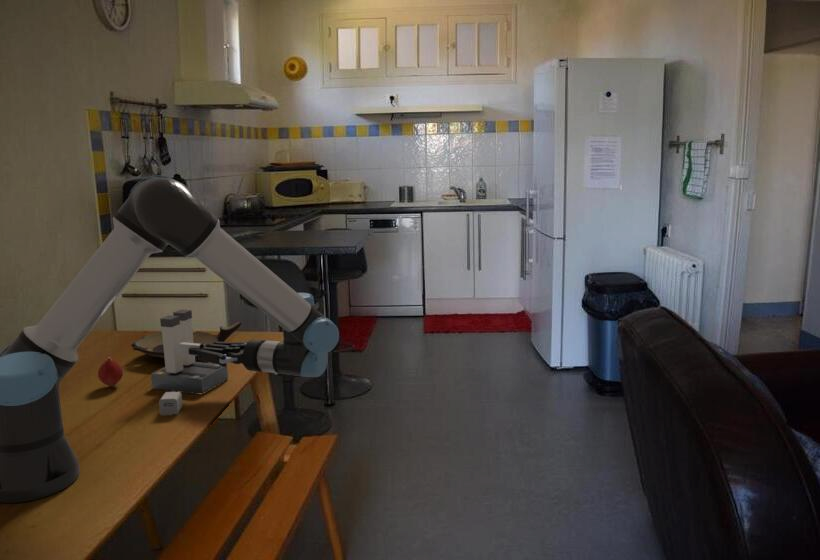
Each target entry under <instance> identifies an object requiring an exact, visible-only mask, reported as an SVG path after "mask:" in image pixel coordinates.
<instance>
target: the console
mask: <svg viewBox="0 0 820 560" xmlns="http://www.w3.org/2000/svg"><path fill="white" fill-rule="evenodd" d="M228 373H229V372H228V365H227V366H225V367H222V366H220V365H218V364H214V363H210V362H203V361H195V362H194V363H192V364H190V365H183V370H181V371H180V372H178V373H168V372H166V368H165V366H164V367H162V368H159V369H158V370H155V371H154V372H151V373H150V377H151V378H150V379H151V385H152V386H151V387H152V388H153V390H154V389H155V390H160V389H164V390H163V391H168V390H173V391H172V392H176V391H183V392H182V393H184V392H193V393H202V394H203V393H204V392H206V391H208V390H209V389H211V388H213V387H214V386H217V385H218V384H220V383H221V382H223V381H225V380H227V379H228V380H229V374H228ZM228 380H227V381H228ZM225 382H226V381H225ZM223 383H224V382H223ZM220 385H221V384H220ZM218 386H219V385H218ZM218 386H217V387H218ZM213 389H214V388H213ZM208 392H209V391H208ZM206 393H207V392H206ZM203 395H204V394H203Z"/></svg>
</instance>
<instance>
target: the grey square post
mask: <svg viewBox="0 0 820 560" xmlns="http://www.w3.org/2000/svg"><path fill="white" fill-rule="evenodd" d="M159 322H160V327H161V333H162V337H163V347H164V357H165V358H164V365H165V366H164V367H165V368H166V372H168V373H178V372H180V371H181V370H183V359H182V354H180V348H179V344H180V343H181V337H180V326H179V324H180V319H179V316H173V315H166V316H164V317H161V318H159Z"/></svg>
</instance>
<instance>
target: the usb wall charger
mask: <svg viewBox="0 0 820 560" xmlns="http://www.w3.org/2000/svg"><path fill="white" fill-rule="evenodd" d="M182 395H183V393H182V392H176V391H165V393H163V395H162V396H161V397H160V399H159V401H158V404H159V405H158V407H159V413H160V415H161V416H173V415H172V414H177V415H178V414H179V412H180V410H181V409H182V407H183V396H182Z"/></svg>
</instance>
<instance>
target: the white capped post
mask: <svg viewBox="0 0 820 560" xmlns="http://www.w3.org/2000/svg"><path fill="white" fill-rule="evenodd" d="M172 316H179V319H180V324H179V326H180V337H181V343H182V342H186V343H194V341H193V333H194V332H193V330H194V329H193V320H192V318H193V314H192V310H191V309H179V310H178V309H177V310H175V311H173V312H172ZM182 359H183V365H190V364H192V363H194V362H196V356H193V355H183V354H182Z"/></svg>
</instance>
